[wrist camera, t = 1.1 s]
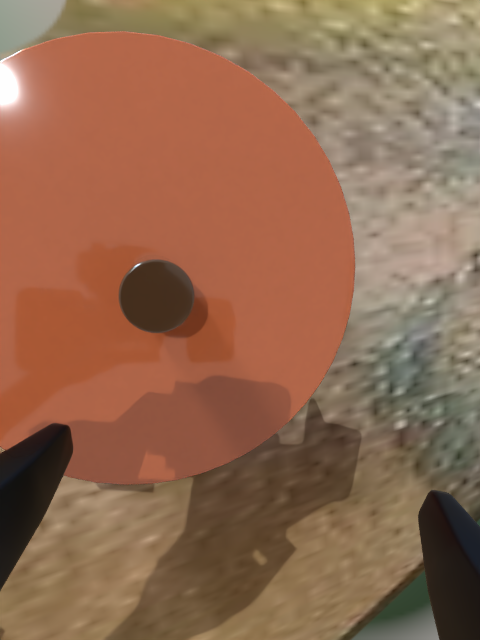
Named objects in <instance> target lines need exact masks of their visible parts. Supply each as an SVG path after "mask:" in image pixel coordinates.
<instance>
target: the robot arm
mask: <svg viewBox="0 0 480 640" xmlns="http://www.w3.org/2000/svg"><path fill="white" fill-rule="evenodd" d="M72 454H73V441H72V435H71V429H70V427H69V426H68V425H65V424H59V423H52V424H50V425H48V426H46V427H45V428H43V429H41V430H40V431H38V432H36V433H34V434H33V435H31V436H29V437H28V438H26V439H24V440H23V441H21V442H19V443H18V444H16V445H14V446H12V447H11V448H9V449H7V450H6V451H4V452H2V453H1V454H0V591H1V589H2V587H3V585H4V584H5V582H6V580H7V579H8V577H9V575H10V573H11V572H12V570H13V568H14V567H15V565H16V563H17V562H18V560H19V558H20V556H21V555H22V553H23V551H24V550H25V548H26V546H27V545H28V543H29V541H30V539H31V538H32V536H33V534H34V533H35V531H36V529H37V528H38V526H39V524H40V522H41V521H42V519H43V517H44V515H45V513H46V511H47V509H48V507H49V505H50V503H51V501H52V499H53V496H54V494H55V492H56V490H57V488H58V486H59V483H60V481H61V479H62V477H63V475H64V473H65V470H66V468H67V466H68V464H69V462H70V460H71V457H72ZM418 522H419V530H420V537H421V544H422V552H423V559H424V567H425V574H426V581H427V586H428V593H429V597H430V602H431V606H432V610H433V614H434V619H435V623H436V627H437V631H438V635H439V639H440V640H480V526H479V525H478V524H477V523H476V522H475V521H474V520H473V518H472V517H471V516H470V515H469V514H468V513H467V512H466V511H465V510H464V508H463V507H462V506H461V505H460V504H459V503H458V502H457V501H456V500H455V498H454V497H453V496H452V495H450V494H449V493H447V492H442V491H436V490H431V491H430V492H429V493H428V495H427V497H426V499H425V501H424V503H423V505H422V507H421V509H420V511H419V515H418Z"/></svg>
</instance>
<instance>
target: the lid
mask: <svg viewBox="0 0 480 640" xmlns="http://www.w3.org/2000/svg"><path fill="white" fill-rule="evenodd" d="M354 277H355V254H354V238H353V233H352V227H351V222H350V216H349V212H348V208H347V205H346V202H345V199H344V195H343V192H342V189H341V186H340V184H339V181H338V179H337V177H336V175H335V173H334V170H333V168H332V166H331V164H330V161H329V159H328V158H327V156H326V155H325V153H324V151H323V150H322V148H321V146H320V145H319V143H318V141H317V140H316V138H315V136H314V135H313V134H312V132H311V131H310V130H309V129H308V127H307V126H306V125H305V124H304V122H303V121H302V120H301V118H300V117H299V116H298V115H297V113H296V112H295V111H294V110H293V109H292V108H291V107H290V106H289V105H288V104H287V103H286V102H285V101H284V100H283V99H282V98H281V97H280V96H279V95H278V94H276V93H275V92H274V91H273V90H272V89H271V88H269V87H268V86H267V85H265V84H264V83H263V82H261V81H260V80H259V79H257V78H256V77H255V76H254V75H252V74H251V73H250V72H248V71H246V70H245V69H243V68H241V67H239V66H238V65H236V64H234V63H232V62H231V61H229V60H227V59H225V58H224V57H222V56H220V55H217V54H215V53H212V52H210V51H207V50H205V49H203V48H200V47H198V46H195V45H193V44H190V43H186V42H182V41H178V40H174V39H171V38H167V37H163V36H159V35H151V34H142V33H133V32H124V31H123V32H91V33H84V34H79V35H73V36H67V37H62V38H56V39H53V40H50V41H47V42H44V43H41V44H38V45H35V46H32V47H29V48H26V49H24V50H21V51H19V52H17V53H15V54H13V55H11V56H10V57H8V58H6V59H4V60H2V61H0V447H1V448H3V449H4V450H7V449H9V448H11V447H12V446H14V445H16V444H18V443H19V442H21V441H23V440H24V439H26V438H28V437H29V436H31V435H33V434H34V433H36V432H38V431H40V430H41V429H43V428H45V427H46V426H48V425H50V424H52V423H59V424H65V425H68V426H69V427H70V429H71V435H72V441H73V454H72V457H71V460H70V462H69V464H68V466H67V468H66V470H65V473H64V476H67V477H72V478H77V479H82V480H87V481H92V482H97V483H110V484H122V485H129V484H153V483H160V482H166V481H173V480H179V479H183V478H186V477H190V476H194V475H198V474H201V473H204V472H207V471H210V470H212V469H215V468H217V467H220V466H222V465H225V464H227V463H229V462H231V461H233V460H235V459H237V458H239V457H241V456H242V455H244V454H246V453H248V452H250V451H251V450H253V449H254V448H256V447H257V446H259V445H260V444H262V443H263V442H265V441H266V440H268V439H269V438H270V437H272V436H273V435H274V434H275V433H276V432H277V431H279V430H280V429H281V428H282V427H283V426H284V425H286V424H287V423H288V422H289V421H290V420H291V419H292V418H293V417H294V416H295V414H296V413H297V412H298V411H299V410H300V409H301V408H302V407H303V406H304V405H305V404H306V402H307V401H308V400H309V398H310V397H311V396H312V394H313V393H314V391H315V390H316V389H317V387H318V386H319V385H320V383H321V381H322V380H323V378H324V376H325V374H326V373H327V371H328V369H329V367H330V366H331V364H332V362H333V360H334V358H335V355H336V353H337V351H338V348H339V346H340V344H341V341H342V339H343V335H344V332H345V329H346V325H347V322H348V319H349V315H350V309H351V304H352V298H353V292H354Z"/></svg>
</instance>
